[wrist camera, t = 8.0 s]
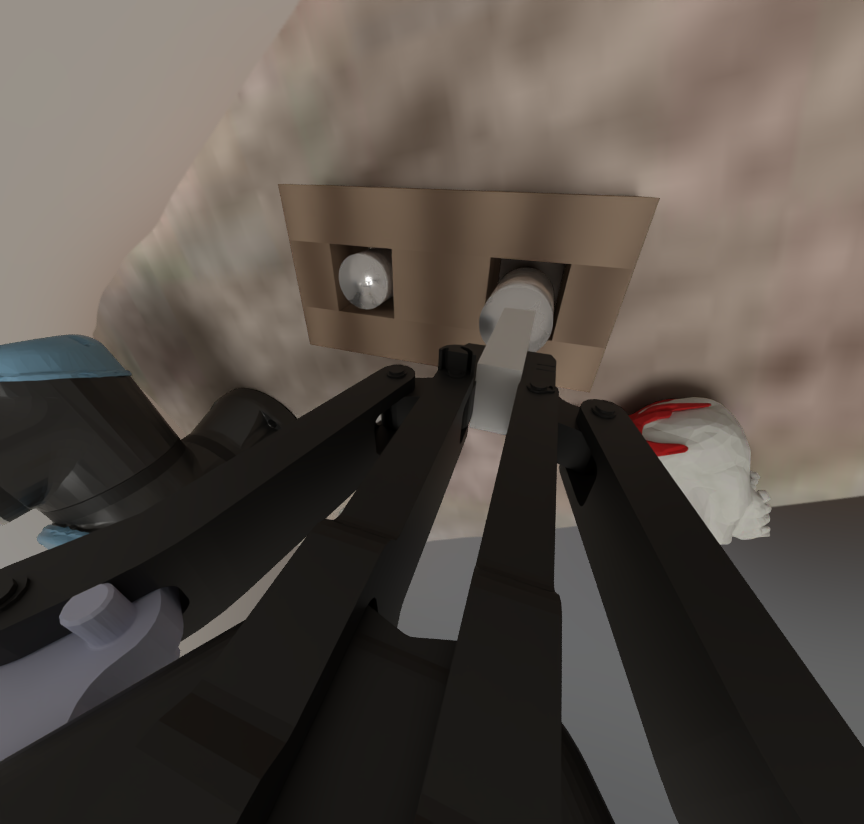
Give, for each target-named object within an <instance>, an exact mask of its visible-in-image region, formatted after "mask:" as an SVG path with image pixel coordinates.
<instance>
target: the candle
mask: <svg viewBox="0 0 864 824" xmlns="http://www.w3.org/2000/svg"><path fill="white" fill-rule="evenodd" d="M628 416H629V417H630V418H631V420H632V421H633V423H634V424H635V425H636V427H637V428H638V430H639V431H640V433H641V434H642V435H643V437H644V438H645V440H646V441H647V442H648V444H649V445H650V447H651V448H652V449H653V451H654V452H655V454H656V455H657V457H658V458H659V459H660V461H661V462H662V464H663V465H664V466H665V468H666V469H667V471H668V472H669V473H670V475H671V476H672V478H673V479H674V481H675V482H676V483H677V485H678V486H679V488H680V489H681V490H682V492H683V493H684V495H685V496H686V497H687V499H688V500H689V502H690V503H691V505H692V506H693V507H694V509H695V510H696V512H697V513H698V514H699V516H700V517H701V519H702V520H703V521H704V523H705V524H706V526H707V527H708V529H709V530H710V531H711V533H712V534H713V536H714V537H715V538H716V540H717V541H718V543H719V544H729V543H730V542H731V539H732V536H734V537H737V538H739V539H742V540H744V539H753V538H757V537H768V536H770V533H769V531H770V527H767V526H764V525H766V524H767V523H768V522H770V517H769V515H768V513H769V512H770V511H771V507H770V505H769V504H766V503H764V502H767V501H768V500H770V497H769V495H768V493H767V491H765V490H758V491H757V492H756V491H755V490H756V486H755V485H756V484H757V483H758V479H759V478H760V476H759V474H758V473H757V472H754V471H750V456H751V450H750V447H749V444H748V441H747V439H746V436H745V434H744V431H743V429H742V427H741V426H740V424H739V423H738V421H737V420H736V418H735V417H734V415H733V414H732V413H731V412H730V411H729V410H728V409H726V408H725V407H724V406H723V405H722V404H720V403H718V402H716V401H714V400H712V399H707V398H699V397H690V398H683V399H666V400H662V401H657V402H654V403H652V404H650V405H648V406H645V407H644V408H642V409H640V410H639V411H637V412H635V413H634V414H631V415H628Z"/></svg>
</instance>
